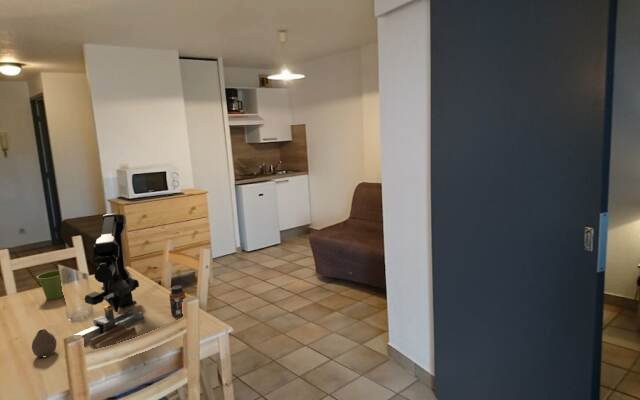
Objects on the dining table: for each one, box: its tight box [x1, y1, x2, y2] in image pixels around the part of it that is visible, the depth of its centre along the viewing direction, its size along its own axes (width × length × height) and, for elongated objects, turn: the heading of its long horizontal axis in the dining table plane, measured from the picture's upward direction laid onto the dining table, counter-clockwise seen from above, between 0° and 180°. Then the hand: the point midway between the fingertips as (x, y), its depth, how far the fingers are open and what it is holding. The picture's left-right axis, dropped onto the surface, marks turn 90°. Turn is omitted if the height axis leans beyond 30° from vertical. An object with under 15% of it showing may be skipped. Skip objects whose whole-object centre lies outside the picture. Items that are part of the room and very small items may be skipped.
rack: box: [89, 324, 137, 349], centre depth 147 cm, size 7×13×2 cm, turn 149°
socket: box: [92, 308, 145, 333], centre depth 158 cm, size 8×16×5 cm, turn 149°
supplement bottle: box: [169, 285, 186, 317], centre depth 164 cm, size 6×6×11 cm
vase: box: [31, 328, 58, 358], centre depth 138 cm, size 7×7×9 cm
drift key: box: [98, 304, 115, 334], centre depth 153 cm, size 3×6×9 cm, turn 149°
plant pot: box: [36, 269, 64, 300], centre depth 190 cm, size 12×12×11 cm
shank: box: [74, 325, 101, 344], centre depth 147 cm, size 3×9×4 cm, turn 148°
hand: (116, 311), depth 157 cm, fingers closed
